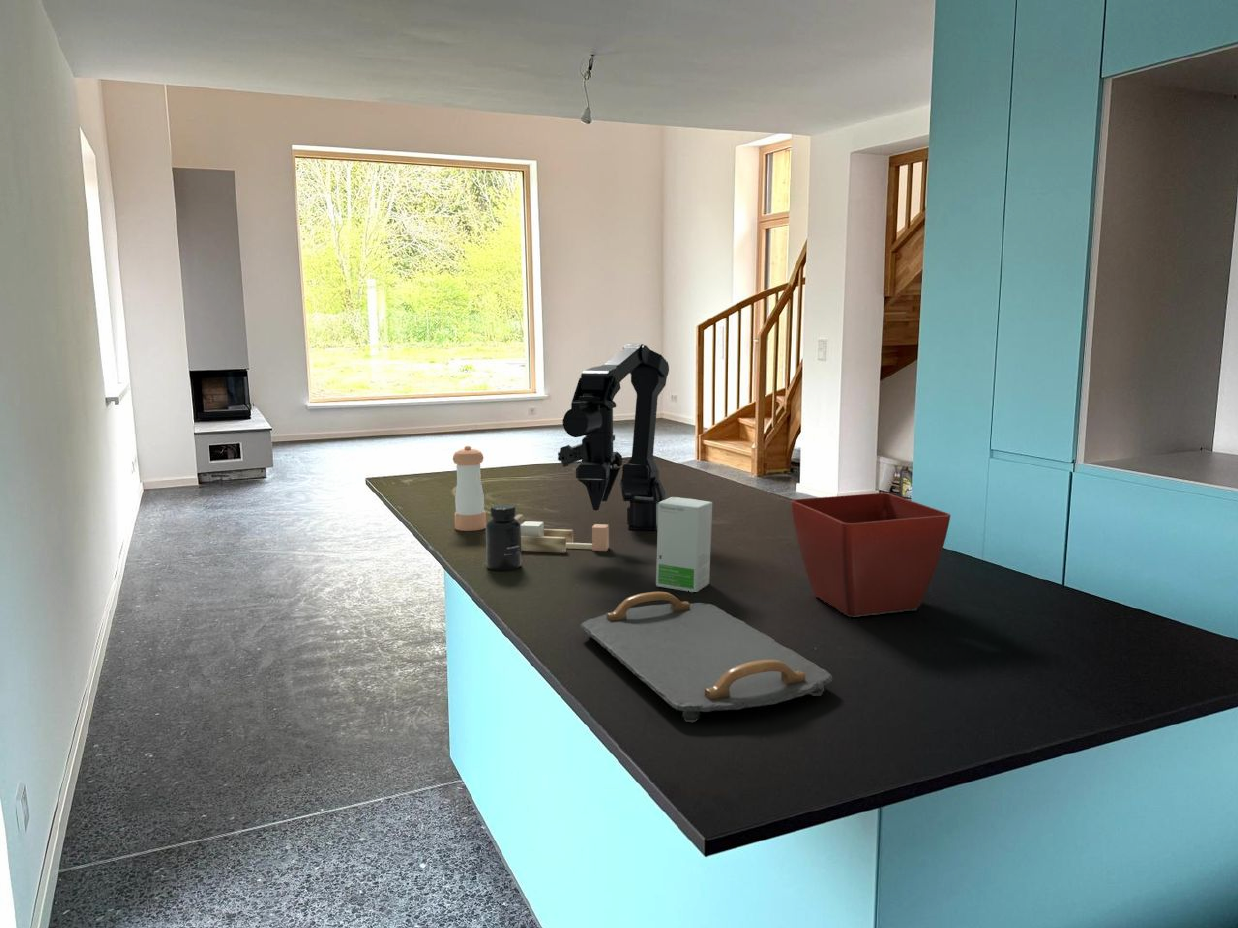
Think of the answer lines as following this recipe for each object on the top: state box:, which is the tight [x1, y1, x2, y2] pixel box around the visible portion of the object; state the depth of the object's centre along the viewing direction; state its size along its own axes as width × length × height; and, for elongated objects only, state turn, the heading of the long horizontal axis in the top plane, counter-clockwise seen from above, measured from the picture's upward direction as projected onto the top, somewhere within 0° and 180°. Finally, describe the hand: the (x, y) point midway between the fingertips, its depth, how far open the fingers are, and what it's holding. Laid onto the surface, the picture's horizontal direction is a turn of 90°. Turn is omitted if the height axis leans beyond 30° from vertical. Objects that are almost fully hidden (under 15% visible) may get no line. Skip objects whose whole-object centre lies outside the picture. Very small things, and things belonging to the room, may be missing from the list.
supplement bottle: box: [485, 504, 522, 572], centre depth 172 cm, size 7×7×12 cm
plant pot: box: [790, 492, 951, 616], centre depth 147 cm, size 19×19×17 cm
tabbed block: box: [521, 520, 610, 552], centre depth 186 cm, size 18×4×5 cm, turn 80°
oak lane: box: [515, 513, 574, 553], centre depth 187 cm, size 12×8×6 cm, turn 80°
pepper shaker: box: [452, 445, 487, 532], centre depth 205 cm, size 7×7×19 cm
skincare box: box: [655, 496, 713, 593], centre depth 158 cm, size 8×7×16 cm
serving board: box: [580, 591, 833, 720], centre depth 123 cm, size 39×23×6 cm, turn 23°
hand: (600, 505), depth 184 cm, fingers open, 9 cm apart
